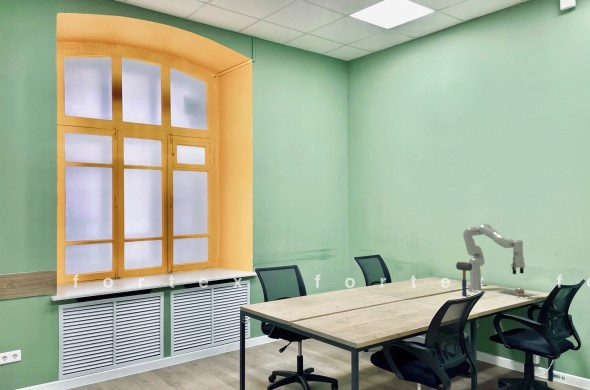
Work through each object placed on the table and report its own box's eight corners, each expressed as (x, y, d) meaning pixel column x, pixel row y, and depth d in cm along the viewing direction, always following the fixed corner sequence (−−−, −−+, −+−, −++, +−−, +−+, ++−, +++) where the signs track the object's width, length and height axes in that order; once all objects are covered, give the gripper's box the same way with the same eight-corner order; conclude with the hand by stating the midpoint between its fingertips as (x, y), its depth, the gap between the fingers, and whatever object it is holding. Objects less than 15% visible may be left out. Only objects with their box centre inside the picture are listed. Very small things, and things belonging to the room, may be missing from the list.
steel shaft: (517, 295, 393) (517, 287, 393) (519, 294, 394) (519, 287, 394) (519, 295, 391) (519, 288, 391) (521, 295, 392) (521, 288, 392)
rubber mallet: (473, 296, 396) (472, 262, 396) (468, 297, 391) (468, 263, 391) (460, 294, 405) (459, 261, 406) (455, 295, 400) (455, 261, 401)
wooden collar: (512, 294, 395) (512, 289, 395) (518, 294, 398) (518, 288, 398) (520, 296, 388) (520, 290, 388) (526, 295, 391) (526, 290, 391)
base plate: (496, 293, 407) (496, 292, 407) (505, 292, 412) (505, 290, 412) (520, 298, 386) (520, 297, 386) (529, 297, 391) (529, 295, 391)
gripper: (515, 255, 387) (515, 275, 386) (528, 254, 395) (528, 273, 394) (507, 254, 393) (507, 273, 393) (520, 253, 401) (520, 272, 401)
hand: (518, 273), depth 394 cm, fingers open, 9 cm apart
